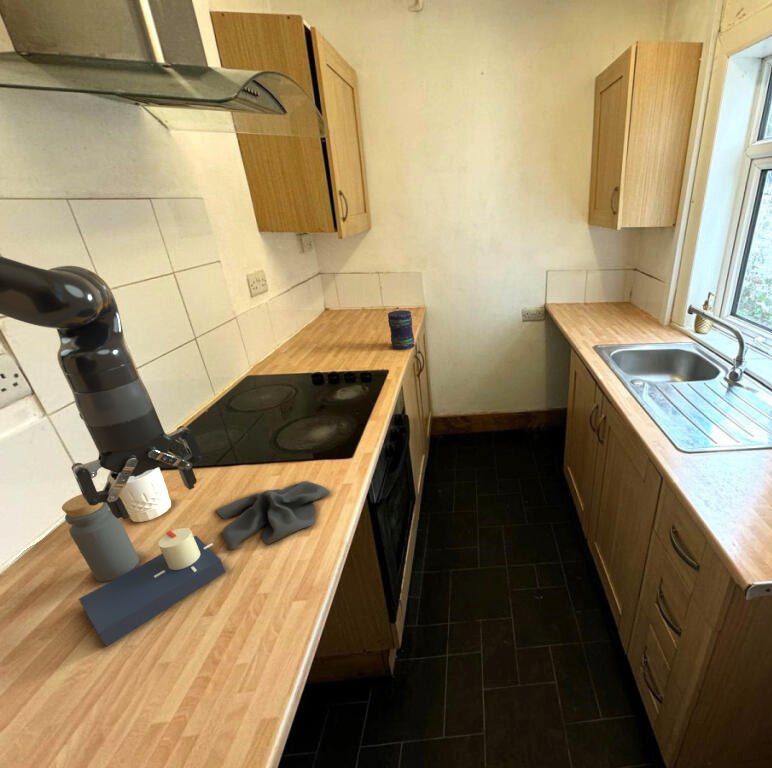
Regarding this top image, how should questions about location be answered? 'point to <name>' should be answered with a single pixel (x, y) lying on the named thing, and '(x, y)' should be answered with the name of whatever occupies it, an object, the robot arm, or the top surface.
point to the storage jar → (401, 329)
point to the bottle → (100, 539)
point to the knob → (179, 548)
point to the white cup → (145, 496)
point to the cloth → (272, 513)
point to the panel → (146, 593)
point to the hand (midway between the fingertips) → (159, 501)
